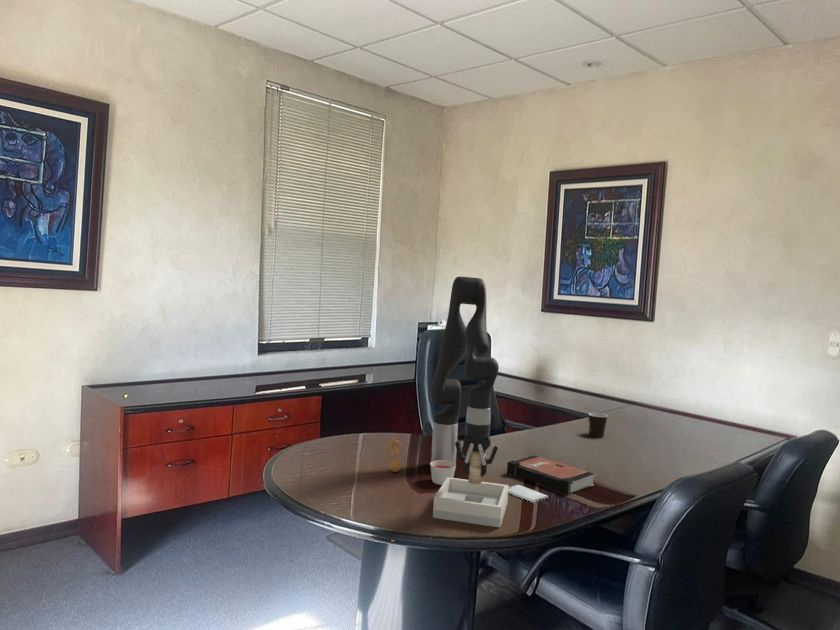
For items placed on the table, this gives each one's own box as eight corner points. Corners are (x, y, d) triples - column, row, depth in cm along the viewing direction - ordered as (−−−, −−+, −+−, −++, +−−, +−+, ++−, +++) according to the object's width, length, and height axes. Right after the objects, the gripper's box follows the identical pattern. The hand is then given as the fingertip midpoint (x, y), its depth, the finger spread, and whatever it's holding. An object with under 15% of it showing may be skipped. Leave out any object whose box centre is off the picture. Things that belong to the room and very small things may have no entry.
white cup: (456, 479, 221) (457, 461, 221) (452, 487, 213) (453, 469, 212) (431, 476, 223) (432, 459, 223) (426, 484, 214) (427, 466, 214)
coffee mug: (602, 439, 287) (604, 418, 286) (584, 436, 291) (585, 414, 291) (610, 434, 296) (611, 413, 296) (592, 431, 301) (593, 410, 300)
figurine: (386, 474, 223) (388, 441, 222) (380, 469, 228) (381, 437, 227) (407, 472, 227) (409, 439, 226) (400, 467, 232) (402, 435, 231)
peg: (469, 479, 198) (471, 448, 197) (482, 480, 197) (483, 449, 196) (467, 483, 194) (469, 451, 193) (480, 484, 193) (482, 453, 192)
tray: (446, 495, 205) (447, 477, 205) (507, 503, 201) (508, 485, 200) (432, 517, 186) (433, 497, 186) (500, 527, 181) (501, 507, 181)
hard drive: (503, 488, 211) (532, 499, 202) (518, 484, 217) (548, 494, 207) (503, 493, 211) (532, 504, 202) (518, 488, 217) (548, 499, 207)
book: (595, 486, 223) (596, 472, 223) (567, 496, 211) (568, 481, 211) (535, 466, 242) (536, 454, 242) (506, 475, 230) (507, 462, 230)
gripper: (502, 420, 196) (499, 474, 197) (457, 416, 200) (455, 468, 201) (499, 426, 189) (496, 481, 190) (453, 421, 192) (450, 475, 193)
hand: (475, 474), depth 195 cm, fingers closed on peg, 4 cm apart
